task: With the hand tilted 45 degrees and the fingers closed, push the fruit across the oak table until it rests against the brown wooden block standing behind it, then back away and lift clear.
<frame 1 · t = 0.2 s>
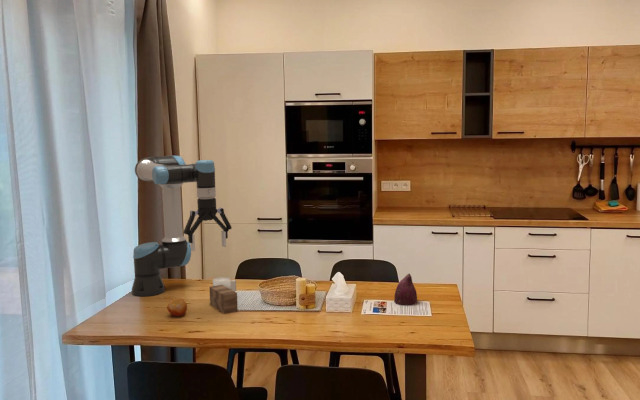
hand: (208, 248, 244), 28 cm above the table, tool pointing down, fingers open, 13 cm apart
vegetable: (405, 302, 258), on the table
fruit: (177, 315, 246), on the table
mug: (222, 298, 269), on the table
brown wooden block: (223, 307, 255), on the table
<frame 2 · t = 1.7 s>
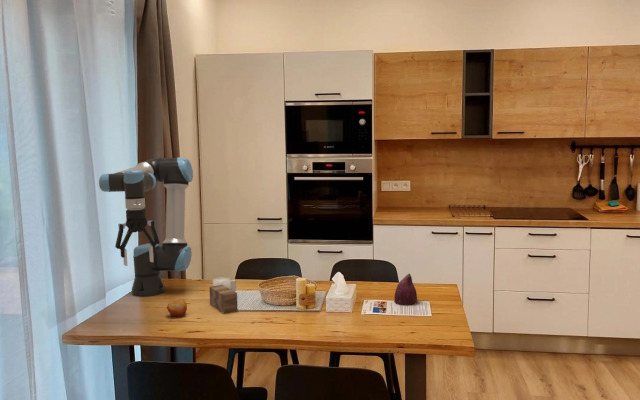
hand: (138, 263, 238), 24 cm above the table, tool pointing down, fingers open, 10 cm apart
nothing on the table moved.
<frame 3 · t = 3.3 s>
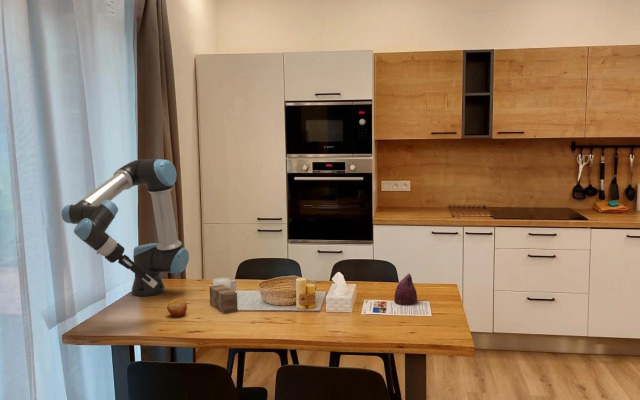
hand: (155, 285, 239), 14 cm above the table, tool tilted 45°, fingers closed
nothing on the table moved.
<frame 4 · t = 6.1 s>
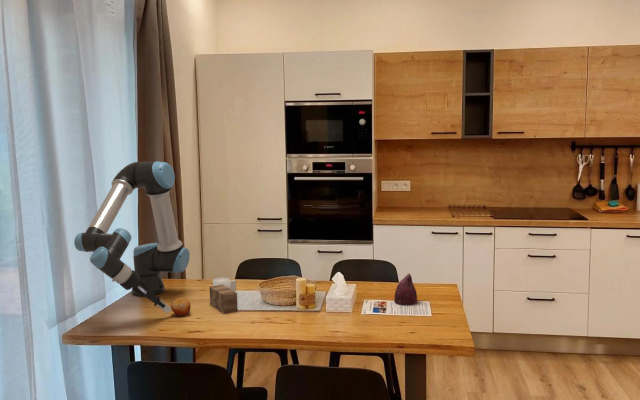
hand: (169, 310, 243), 3 cm above the table, tool tilted 45°, fingers closed
fruit: (181, 315, 246), on the table, touching gripper
everything else where it was.
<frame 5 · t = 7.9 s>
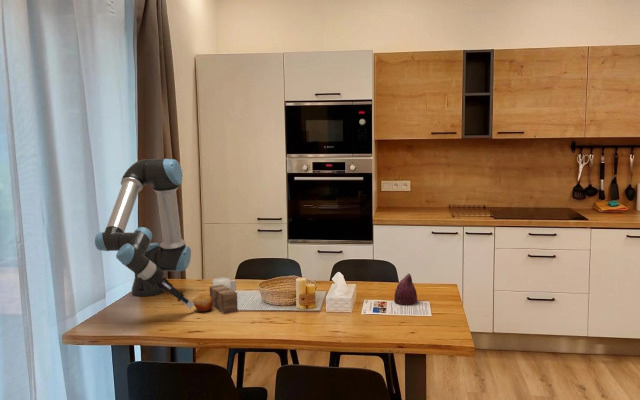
hand: (192, 306, 248), 3 cm above the table, tool tilted 45°, fingers closed
fruit: (203, 310, 252), on the table, touching gripper
everything else where it was.
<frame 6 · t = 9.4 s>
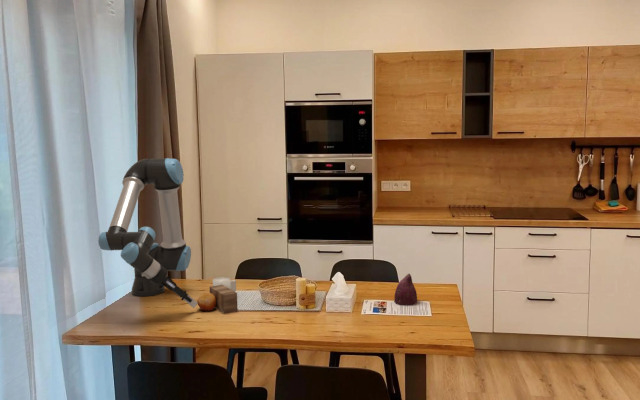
hand: (195, 305, 249), 3 cm above the table, tool tilted 45°, fingers closed
fruit: (207, 310, 252), on the table, touching gripper, brown wooden block
everything else where it was.
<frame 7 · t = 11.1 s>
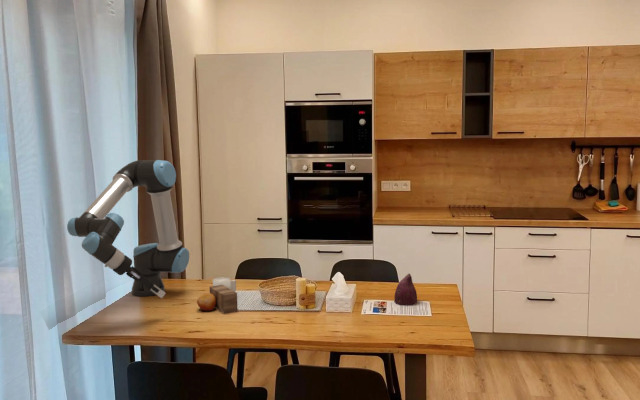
hand: (163, 295, 241), 10 cm above the table, tool tilted 45°, fingers closed
fruit: (207, 310, 253), on the table
everything else where it was.
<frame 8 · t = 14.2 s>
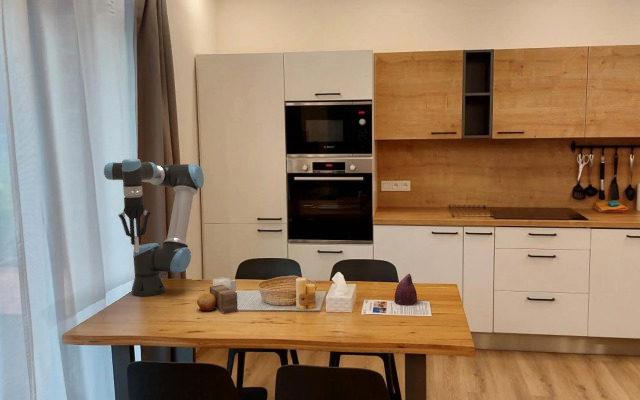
hand: (136, 251, 247), 26 cm above the table, tool pointing down, fingers closed
nothing on the table moved.
at the end: fruit inside the target area (1.5 cm from its centre), on the table; fruit moved 13.1 cm from its start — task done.
